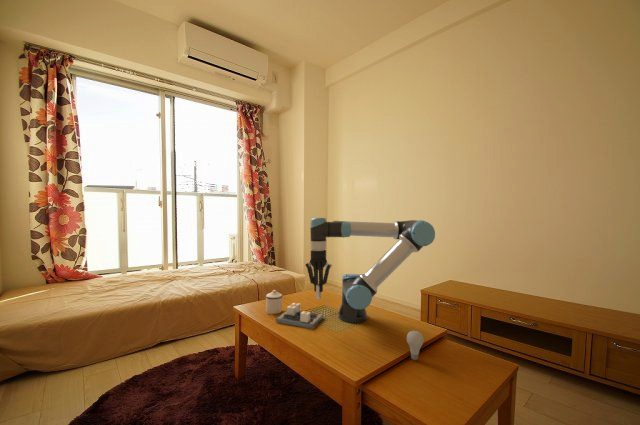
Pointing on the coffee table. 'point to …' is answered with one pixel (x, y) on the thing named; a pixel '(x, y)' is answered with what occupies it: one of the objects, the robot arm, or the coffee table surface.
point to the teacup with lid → (273, 302)
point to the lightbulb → (414, 343)
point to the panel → (295, 320)
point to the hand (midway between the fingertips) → (318, 298)
